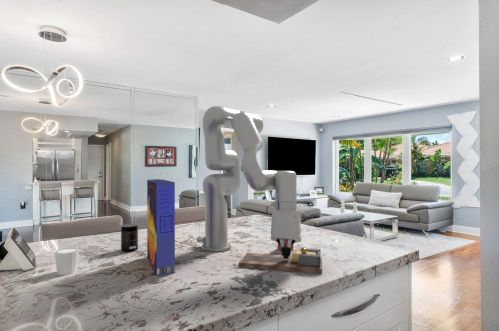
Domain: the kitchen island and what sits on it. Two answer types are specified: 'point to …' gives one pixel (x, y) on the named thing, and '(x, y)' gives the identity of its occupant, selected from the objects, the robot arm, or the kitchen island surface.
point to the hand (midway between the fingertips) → (286, 257)
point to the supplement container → (129, 237)
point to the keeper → (310, 258)
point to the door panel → (275, 263)
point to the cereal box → (161, 226)
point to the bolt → (296, 253)
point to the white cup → (66, 261)
